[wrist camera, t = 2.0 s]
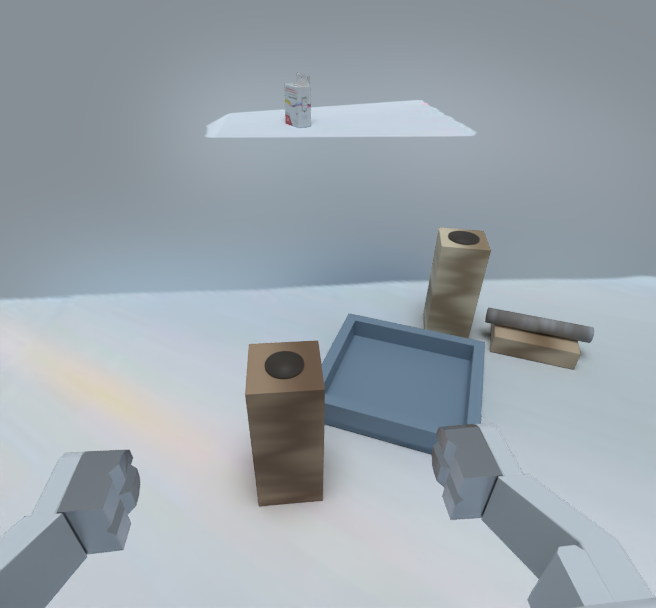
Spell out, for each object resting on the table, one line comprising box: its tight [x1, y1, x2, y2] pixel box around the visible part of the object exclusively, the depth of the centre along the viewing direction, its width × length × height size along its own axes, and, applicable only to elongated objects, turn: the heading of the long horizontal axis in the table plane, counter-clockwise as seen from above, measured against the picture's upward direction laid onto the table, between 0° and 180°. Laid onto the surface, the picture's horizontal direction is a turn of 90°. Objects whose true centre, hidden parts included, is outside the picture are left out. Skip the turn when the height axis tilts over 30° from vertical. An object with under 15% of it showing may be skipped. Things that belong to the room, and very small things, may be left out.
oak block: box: [423, 227, 491, 338], centre depth 45 cm, size 4×4×11 cm
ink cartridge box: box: [284, 73, 311, 128], centre depth 135 cm, size 9×5×15 cm, turn 34°
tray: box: [322, 314, 485, 454], centre depth 39 cm, size 14×13×2 cm
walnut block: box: [245, 341, 325, 506], centre depth 29 cm, size 4×4×11 cm
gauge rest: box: [485, 308, 594, 369], centre depth 45 cm, size 10×5×4 cm, turn 71°
